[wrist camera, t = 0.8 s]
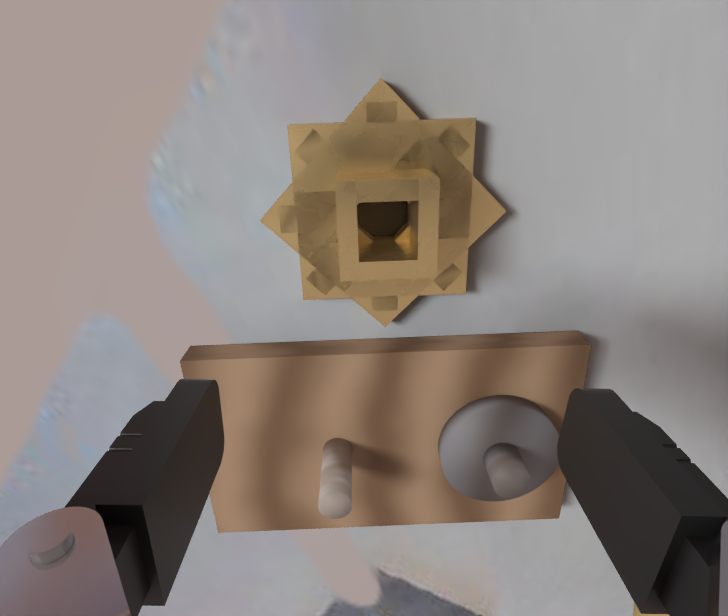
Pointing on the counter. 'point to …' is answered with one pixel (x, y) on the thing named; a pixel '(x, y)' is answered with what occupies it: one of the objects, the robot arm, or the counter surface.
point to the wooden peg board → (390, 429)
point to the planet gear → (383, 184)
